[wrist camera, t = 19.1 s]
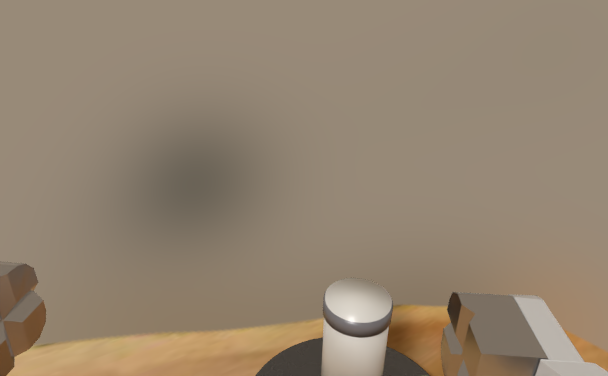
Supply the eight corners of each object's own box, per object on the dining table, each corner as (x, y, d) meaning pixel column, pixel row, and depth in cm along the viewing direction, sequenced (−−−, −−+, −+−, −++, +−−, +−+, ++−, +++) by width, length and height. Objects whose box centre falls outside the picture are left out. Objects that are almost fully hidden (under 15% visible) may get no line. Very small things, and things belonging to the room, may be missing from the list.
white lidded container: (375, 391, 39) (389, 279, 34) (380, 444, 34) (397, 323, 29) (319, 387, 39) (324, 275, 34) (316, 439, 34) (322, 318, 29)
